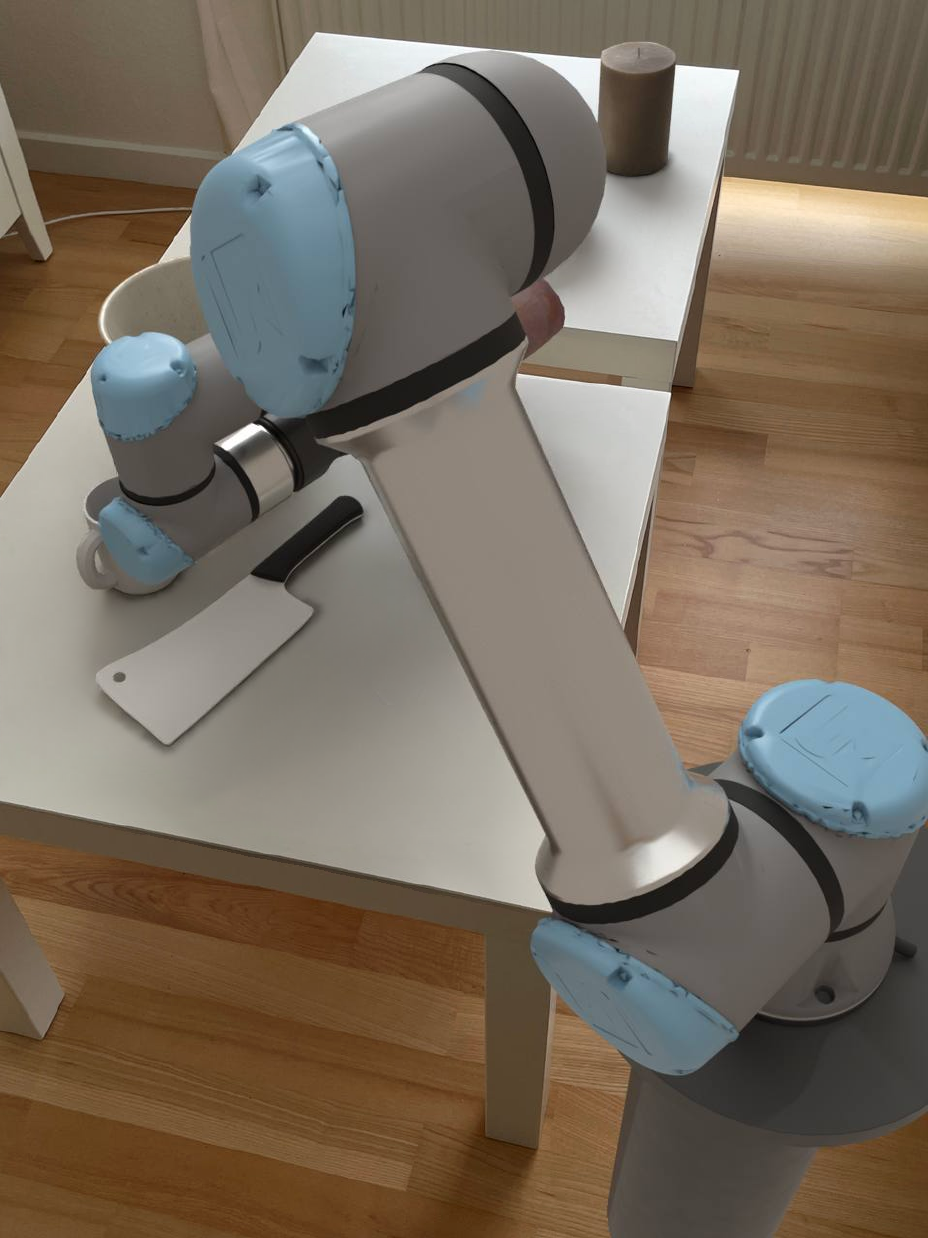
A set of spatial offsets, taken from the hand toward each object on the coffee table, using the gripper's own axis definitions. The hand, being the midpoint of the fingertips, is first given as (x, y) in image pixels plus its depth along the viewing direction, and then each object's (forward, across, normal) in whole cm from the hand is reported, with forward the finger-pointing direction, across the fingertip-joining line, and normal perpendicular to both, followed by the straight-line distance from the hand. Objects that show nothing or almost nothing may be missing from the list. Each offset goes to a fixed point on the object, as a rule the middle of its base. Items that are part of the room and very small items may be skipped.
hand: (454, 336), depth 117 cm
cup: (-33, -11, -15) cm, 38 cm away
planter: (-14, -20, -15) cm, 29 cm away
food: (+2, -1, -7) cm, 7 cm away
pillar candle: (+60, -25, -15) cm, 67 cm away
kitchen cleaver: (-28, +1, -15) cm, 32 cm away
